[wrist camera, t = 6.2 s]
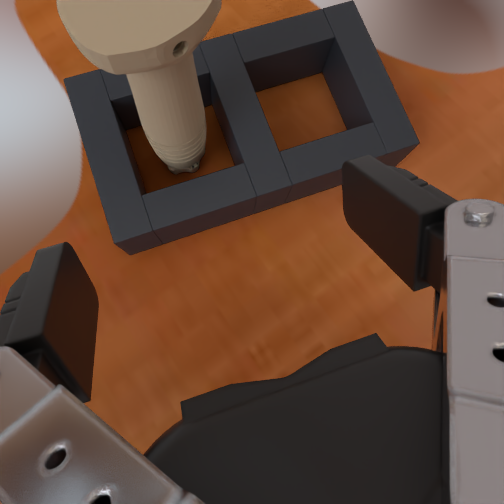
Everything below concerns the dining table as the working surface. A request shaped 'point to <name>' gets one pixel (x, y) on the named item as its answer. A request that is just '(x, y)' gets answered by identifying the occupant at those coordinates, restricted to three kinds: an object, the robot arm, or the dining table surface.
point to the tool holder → (245, 127)
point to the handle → (151, 64)
